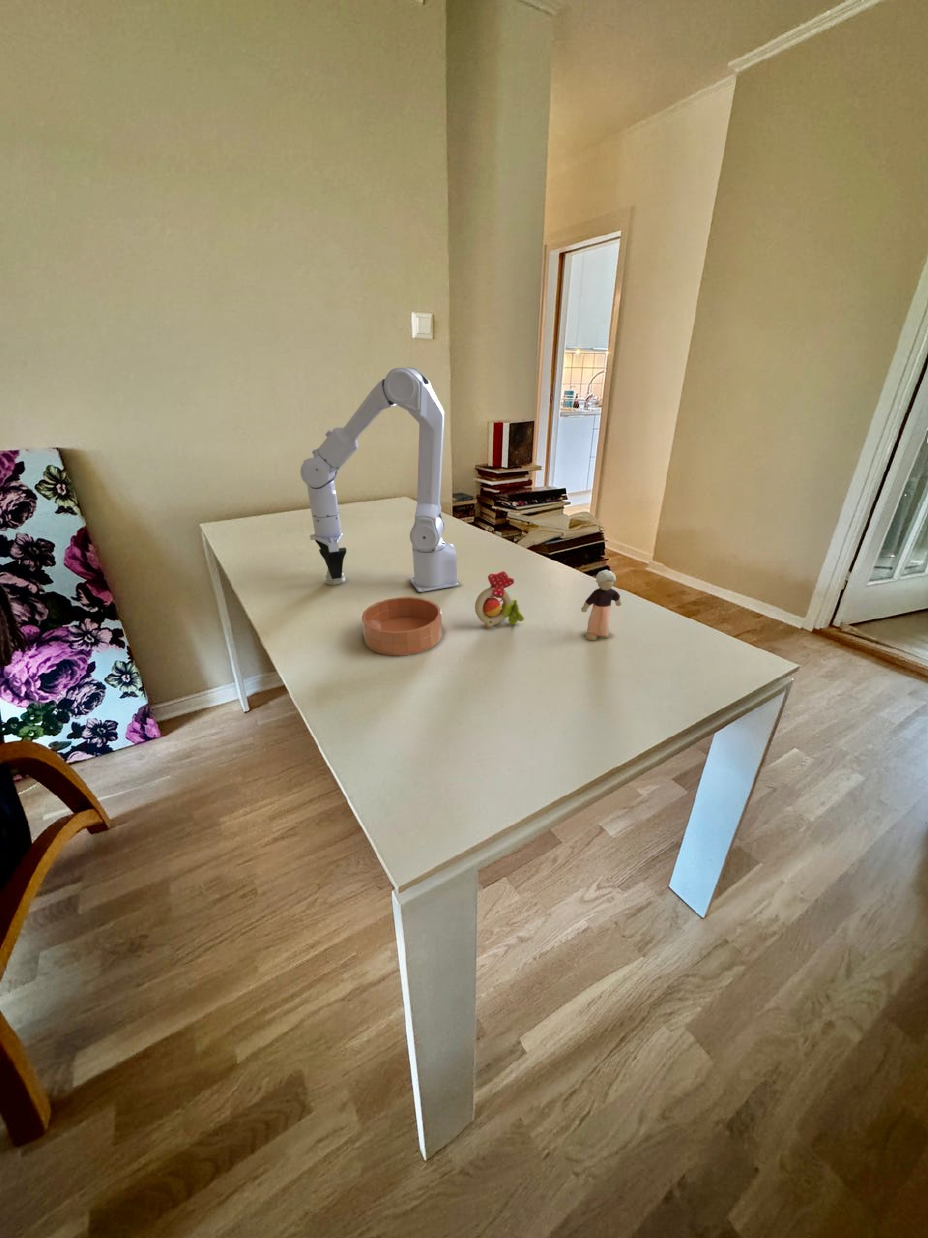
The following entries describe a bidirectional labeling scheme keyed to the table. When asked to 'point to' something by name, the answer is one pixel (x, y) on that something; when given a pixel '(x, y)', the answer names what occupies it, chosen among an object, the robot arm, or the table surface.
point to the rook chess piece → (334, 581)
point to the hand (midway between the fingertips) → (334, 572)
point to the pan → (402, 626)
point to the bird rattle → (497, 602)
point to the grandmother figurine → (601, 605)
